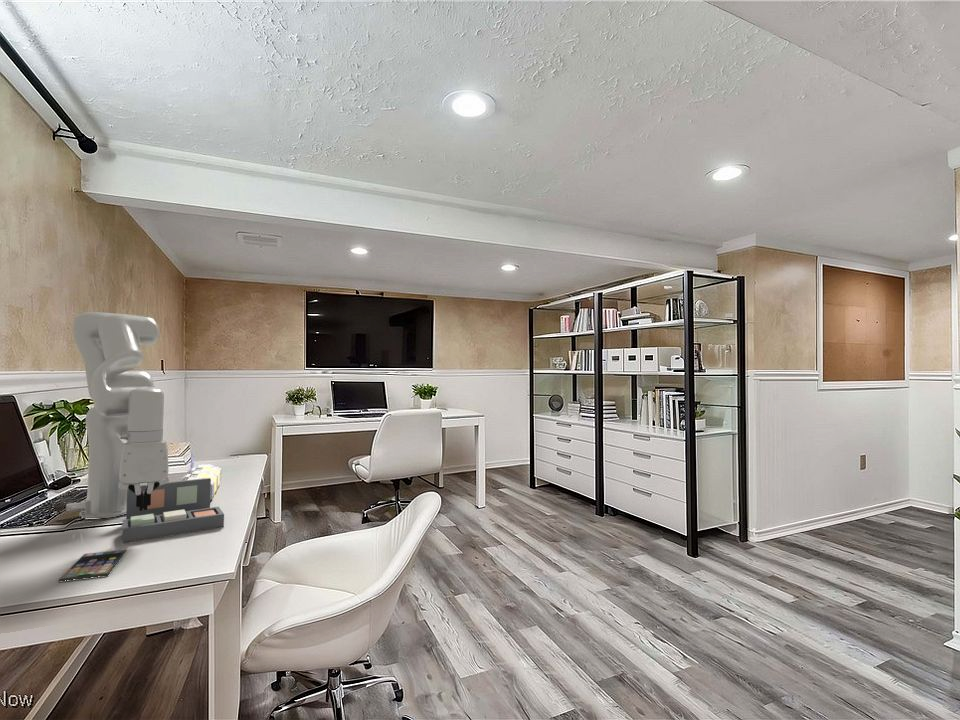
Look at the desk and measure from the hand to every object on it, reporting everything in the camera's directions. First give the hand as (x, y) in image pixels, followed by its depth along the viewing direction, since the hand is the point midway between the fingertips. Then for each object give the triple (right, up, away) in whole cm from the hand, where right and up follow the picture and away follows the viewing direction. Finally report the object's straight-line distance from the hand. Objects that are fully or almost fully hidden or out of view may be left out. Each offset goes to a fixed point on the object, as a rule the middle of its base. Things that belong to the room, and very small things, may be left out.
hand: (143, 508), depth 123 cm
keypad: (+2, -7, +8) cm, 11 cm away
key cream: (+5, -5, +4) cm, 8 cm away
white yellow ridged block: (-8, -8, +39) cm, 40 cm away
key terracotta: (+11, -6, +9) cm, 15 cm away
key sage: (0, -5, 0) cm, 5 cm away
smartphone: (+2, -7, -18) cm, 20 cm away
